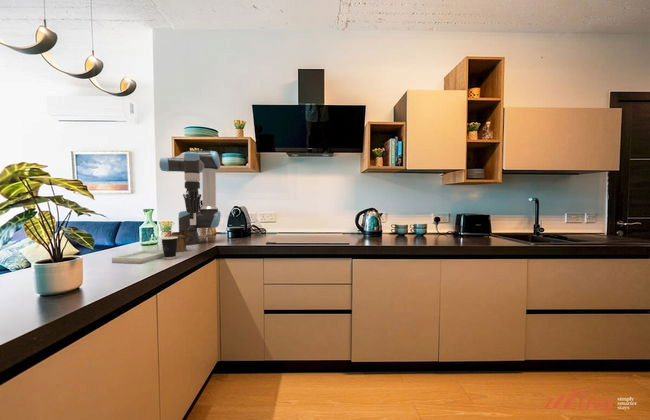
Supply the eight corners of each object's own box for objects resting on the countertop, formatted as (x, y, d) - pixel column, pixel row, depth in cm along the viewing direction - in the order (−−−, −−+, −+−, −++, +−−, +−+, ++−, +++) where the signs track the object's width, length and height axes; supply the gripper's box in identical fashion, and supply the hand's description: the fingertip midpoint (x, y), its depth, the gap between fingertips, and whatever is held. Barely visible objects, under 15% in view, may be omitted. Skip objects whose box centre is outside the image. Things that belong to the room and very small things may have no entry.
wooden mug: (194, 251, 164) (193, 221, 164) (167, 253, 159) (167, 221, 158) (195, 249, 172) (194, 220, 172) (170, 250, 167) (169, 220, 167)
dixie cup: (178, 256, 150) (177, 236, 150) (178, 258, 143) (178, 237, 143) (161, 257, 147) (161, 237, 146) (161, 260, 140) (160, 239, 139)
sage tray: (144, 254, 155) (144, 250, 154) (170, 255, 152) (170, 251, 152) (112, 262, 135) (111, 257, 135) (141, 263, 132) (141, 258, 132)
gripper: (193, 182, 158) (194, 223, 159) (177, 180, 145) (178, 226, 146) (205, 181, 157) (206, 223, 158) (191, 180, 144) (192, 226, 145)
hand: (193, 224), depth 152 cm, fingers closed
